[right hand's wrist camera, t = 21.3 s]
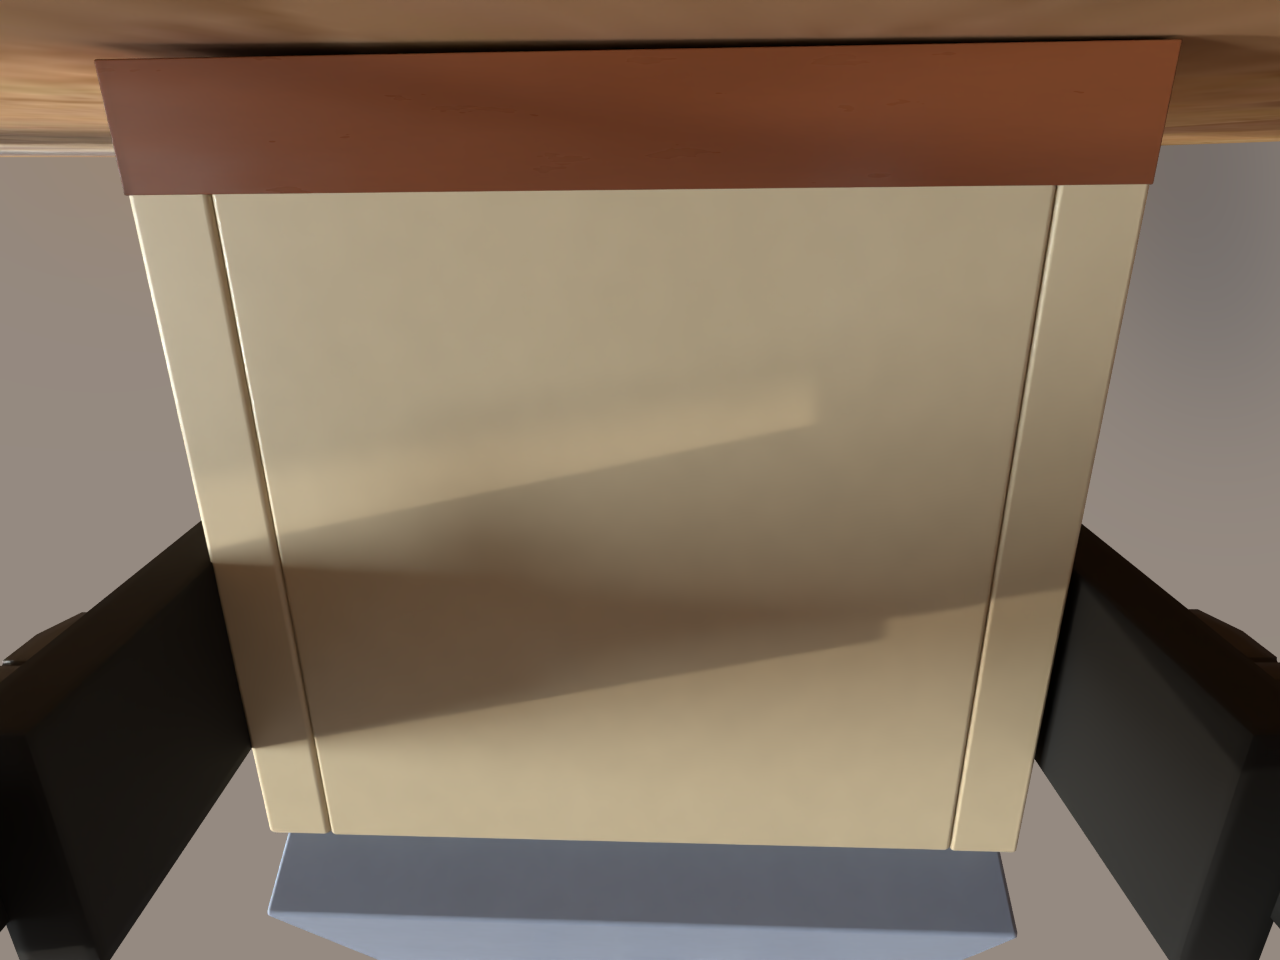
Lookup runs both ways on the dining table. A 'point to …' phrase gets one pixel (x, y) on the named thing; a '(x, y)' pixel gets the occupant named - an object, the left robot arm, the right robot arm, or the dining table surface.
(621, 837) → the chest
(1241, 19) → the dining table surface
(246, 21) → the dining table surface
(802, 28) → the dining table surface
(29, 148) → the dining table surface
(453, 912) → the lid
